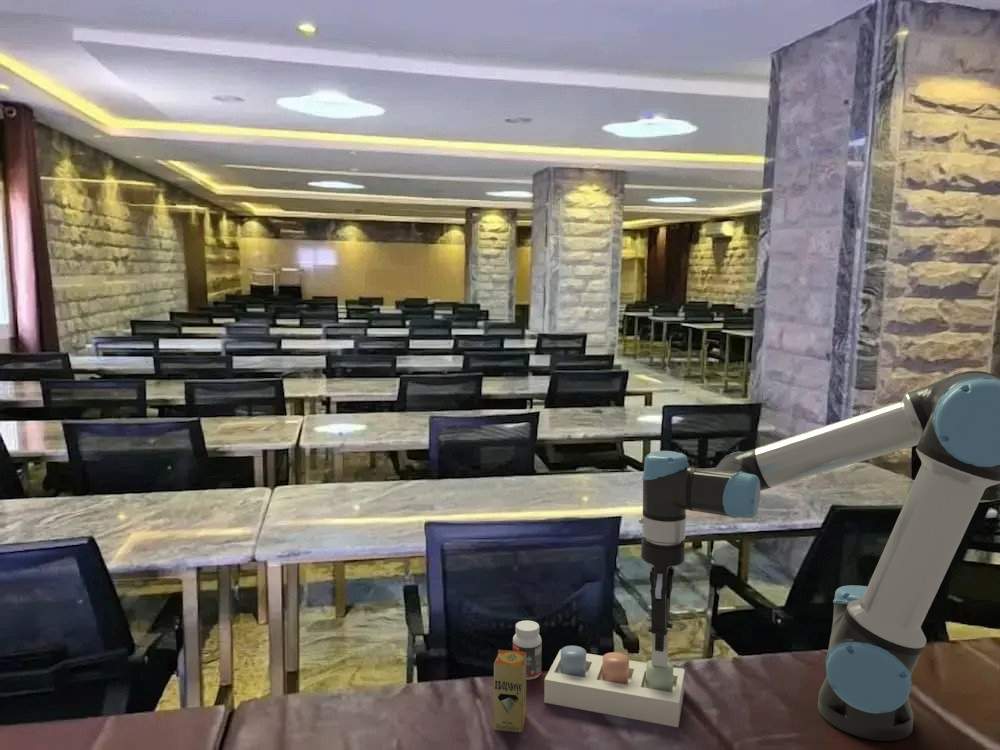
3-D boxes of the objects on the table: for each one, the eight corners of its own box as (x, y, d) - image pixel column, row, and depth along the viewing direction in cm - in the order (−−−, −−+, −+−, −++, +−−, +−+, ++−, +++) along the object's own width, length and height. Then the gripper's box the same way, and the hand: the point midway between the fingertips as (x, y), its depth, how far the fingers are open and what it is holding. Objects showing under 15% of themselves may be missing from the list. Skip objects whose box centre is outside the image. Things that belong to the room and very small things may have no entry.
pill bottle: (507, 676, 144) (507, 628, 143) (520, 663, 149) (520, 616, 148) (533, 683, 141) (534, 634, 140) (546, 670, 146) (546, 622, 145)
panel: (684, 691, 139) (684, 669, 138) (678, 727, 127) (678, 702, 127) (560, 670, 146) (560, 649, 146) (544, 702, 135) (544, 679, 134)
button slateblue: (588, 667, 140) (588, 647, 140) (583, 680, 136) (583, 659, 135) (563, 663, 142) (564, 644, 141) (557, 676, 137) (557, 655, 137)
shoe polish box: (498, 713, 131) (498, 649, 130) (526, 716, 131) (526, 652, 129) (493, 729, 127) (493, 663, 125) (522, 732, 126) (522, 666, 124)
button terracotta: (630, 674, 138) (630, 654, 137) (626, 687, 133) (626, 667, 133) (604, 670, 139) (605, 650, 139) (600, 683, 135) (600, 662, 134)
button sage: (674, 682, 135) (674, 661, 135) (671, 695, 131) (672, 674, 130) (647, 677, 137) (648, 657, 136) (644, 691, 132) (644, 669, 132)
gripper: (646, 525, 138) (643, 644, 141) (636, 548, 126) (633, 678, 128) (687, 529, 135) (683, 651, 138) (681, 553, 123) (677, 686, 126)
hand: (659, 664), depth 133 cm, fingers closed
